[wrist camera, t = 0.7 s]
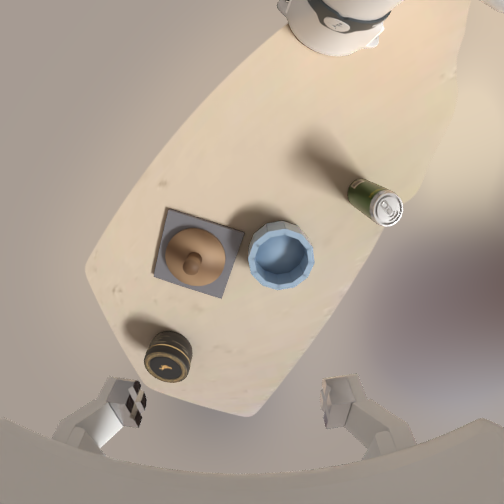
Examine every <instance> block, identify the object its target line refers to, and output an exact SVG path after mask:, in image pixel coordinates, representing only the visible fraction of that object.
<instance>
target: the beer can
mask: <svg viewBox="0 0 504 504" xmlns="http://www.w3.org/2000/svg"><path fill="white" fill-rule="evenodd" d="M348 199H349V201H350V203H351V204H352V205H353V206H354V207H355V208H357V209H358V210H359V211H361V212H362V213H363V214H365V215H366V216H367V217H369V218H370V219H371V220H373V221H374V222H375V223H376V224H378V225H381V226H392V225H394V224H396V223H397V222H398V221H399V219H400V218H401V216H402V213H403V203H402V201H401V199H400V198H399V197H398V195H397V194H396V193H395V192H393V191H391V190H388V189H386V188H384V187H382V186H379V185H377V184H375V183H373V182H370V181H368V180H365V179H358V180H356V181H354V182H353V183H352V184H351V185H350V187H349V189H348Z"/></svg>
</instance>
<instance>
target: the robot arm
mask: <svg viewBox="0 0 504 504" xmlns="http://www.w3.org/2000/svg"><path fill="white" fill-rule="evenodd" d="M287 1H289V2H286V0H279V2H278V4H277V8H278V9H279V11H281V13H282V14H283V15H284V16H285V17H286V18H287V20H288V23H289V26H290V28H291V30H292V32H293V33H294V35H295V36H296V37H297V38H298V40H299V41H301V42H302V43H303V44H304V45H305V46H307V47H308V48H310V49H312V50H314V51H316V52H319V53H321V54H325V55H329V56H345V55H349V54H352V53H354V52H356V51H358V50H360V49H369V48H375V47H376V46H377V45H378V41H379V34H380V33H381V32H382V31H383V30H384V27H383V21H385V19H386V18H387V17H388V15H389V14H390V12H391V10H392V9H393V8H395V7H396V6H397V5H398V4H400V3H401V2H402V1H404V0H287ZM480 1H481V2H483V3H485V4H486V5H488V6H489V7H491V8H493V9H494V10H496V11H498V12H501V13H504V0H480ZM322 387H323V389H322V390H321V393H320V403H321V409H322V410H323V411H324V422H325V427H326V429H330V428H338V427H345V428H346V429H347V430H348V431H349V432H350V433H351V434H352V435H353V436H354V437H355V438H357V439H358V440H359V441H360V442H361V443H362V444H363V445H364V446H365V447H366V448H367V449H368V450H367V452H366V453H365V455H364V457H363V458H362V460H361V461H357V462H352V463H348V464H342V465H338V466H331V467H325V468H319V469H311V470H302V471H293V472H282V473H281V472H280V473H263V474H223V473H203V472H191V471H181V470H173V469H165V468H158V467H153V466H146V465H141V464H136V463H131V462H127V461H122V460H118V459H114V458H110V457H106V455H105V454H104V453H103V451H102V450H101V449H100V447H102V446H103V445H104V444H105V443H106V442H107V441H108V440H109V439H110V438H111V437H112V436H114V435H115V434H116V433H117V432H118V431H119V430H120V429H121V428H122V427H123V426H128V427H135V428H139V426H140V423H141V420H142V416H141V413H142V412H143V411H145V408H146V401H147V399H146V395H145V393H144V391H142V390H141V389H140V388H141V384H140V382H139V381H137V380H131V379H124V378H117V377H108V378H107V380H106V382H105V384H104V386H103V387H102V389H101V391H100V393H99V396H98V397H97V400H93V401H91V402H89V403H88V404H87V405H85V406H83V407H82V408H80V409H79V410H77V411H75V412H74V413H72V414H71V415H69V416H67V417H66V418H64V419H63V420H61V421H60V423H59V425H58V427H57V429H56V431H55V433H54V435H53V437H52V439H51V438H49V437H46V436H44V435H41V434H39V433H36V432H34V431H32V430H30V429H28V428H26V427H23V426H21V425H19V424H17V423H15V422H13V421H11V420H9V419H7V418H5V417H0V504H504V427H502V426H500V425H498V424H496V423H493V422H492V421H489V420H487V419H484V418H480V419H477V420H475V421H472V422H470V423H468V424H466V425H464V426H462V427H460V428H458V429H455V430H453V431H451V432H449V433H446V434H444V435H441V436H439V437H436V438H434V439H432V440H428V441H426V442H423V443H420V444H417V443H416V441H415V438H414V436H413V434H412V431H411V429H410V427H409V425H408V424H407V423H406V422H405V421H403V420H401V419H400V418H398V417H397V416H395V415H394V414H392V413H391V412H389V411H388V410H386V409H385V408H383V407H382V406H380V405H379V404H377V403H376V402H374V401H372V400H371V399H369V400H368V399H367V397H366V394H365V391H364V389H363V386H362V384H361V381H360V379H359V376H358V375H357V374H349V375H342V376H337V377H329V378H323V380H322Z"/></svg>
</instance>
